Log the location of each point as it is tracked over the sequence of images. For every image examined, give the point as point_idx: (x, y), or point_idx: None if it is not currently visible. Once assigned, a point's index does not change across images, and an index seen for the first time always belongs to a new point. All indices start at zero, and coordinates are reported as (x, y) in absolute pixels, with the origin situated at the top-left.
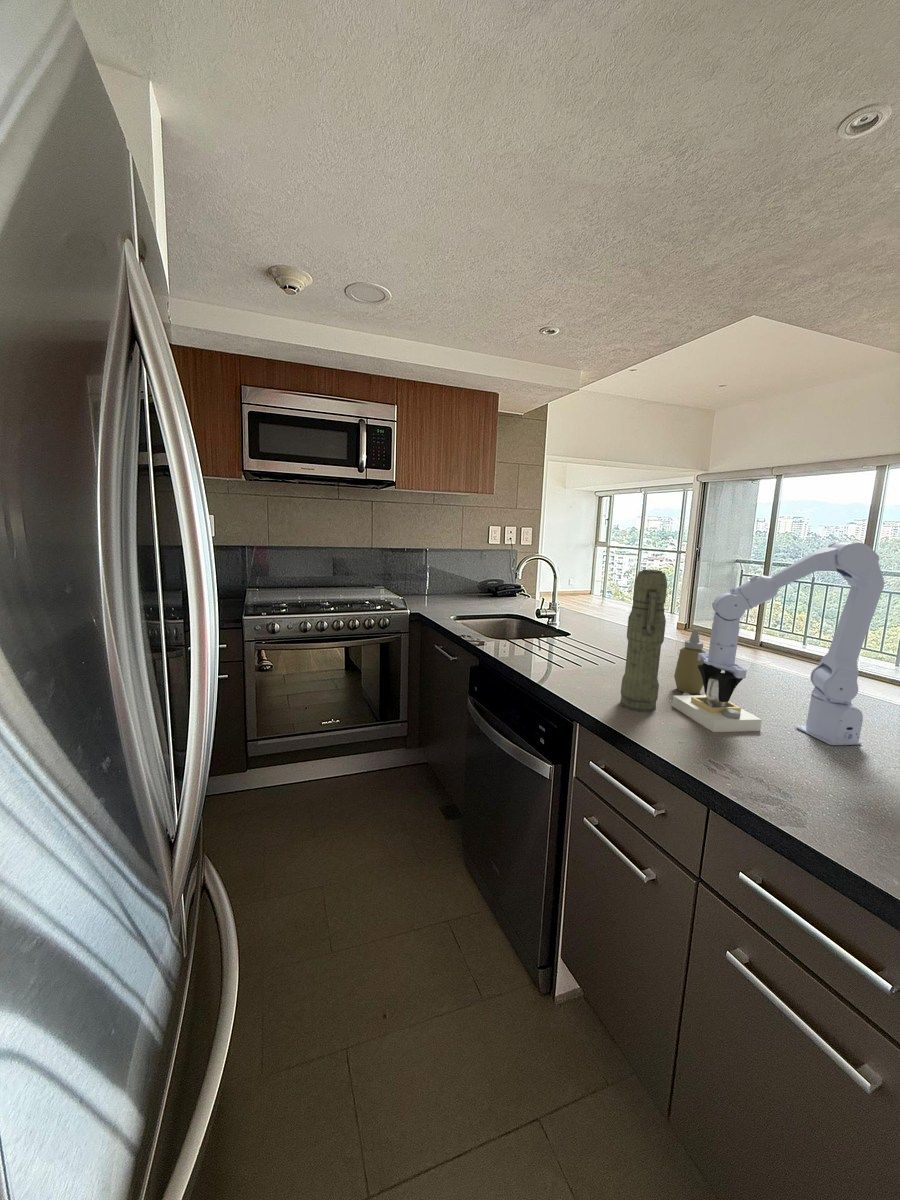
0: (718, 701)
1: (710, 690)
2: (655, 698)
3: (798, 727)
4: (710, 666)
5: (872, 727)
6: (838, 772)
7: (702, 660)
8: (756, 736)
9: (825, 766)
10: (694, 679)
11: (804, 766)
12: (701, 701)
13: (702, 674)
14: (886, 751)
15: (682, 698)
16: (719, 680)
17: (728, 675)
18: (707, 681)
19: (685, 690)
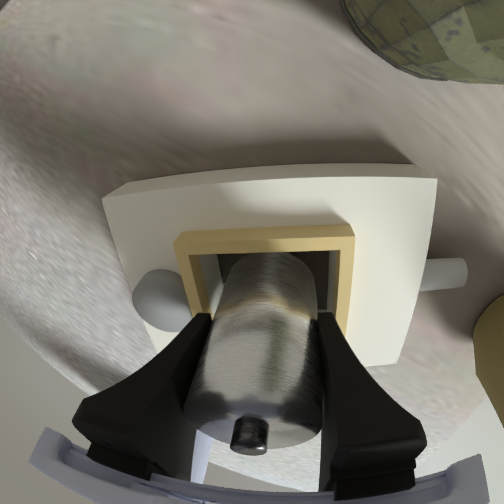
0: (216, 310)
1: (242, 325)
2: (370, 17)
3: None
4: (336, 481)
5: (236, 465)
6: (32, 320)
7: (447, 475)
8: (131, 301)
9: (42, 320)
10: (495, 355)
11: (26, 286)
12: (277, 250)
13: (363, 393)
14: None
15: (395, 203)
16: (139, 395)
17: (91, 439)
18: (327, 373)
19: (496, 305)
